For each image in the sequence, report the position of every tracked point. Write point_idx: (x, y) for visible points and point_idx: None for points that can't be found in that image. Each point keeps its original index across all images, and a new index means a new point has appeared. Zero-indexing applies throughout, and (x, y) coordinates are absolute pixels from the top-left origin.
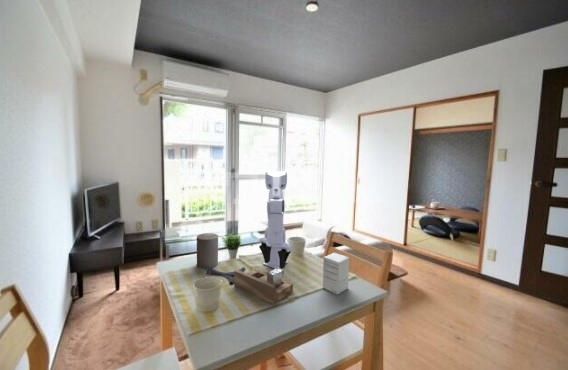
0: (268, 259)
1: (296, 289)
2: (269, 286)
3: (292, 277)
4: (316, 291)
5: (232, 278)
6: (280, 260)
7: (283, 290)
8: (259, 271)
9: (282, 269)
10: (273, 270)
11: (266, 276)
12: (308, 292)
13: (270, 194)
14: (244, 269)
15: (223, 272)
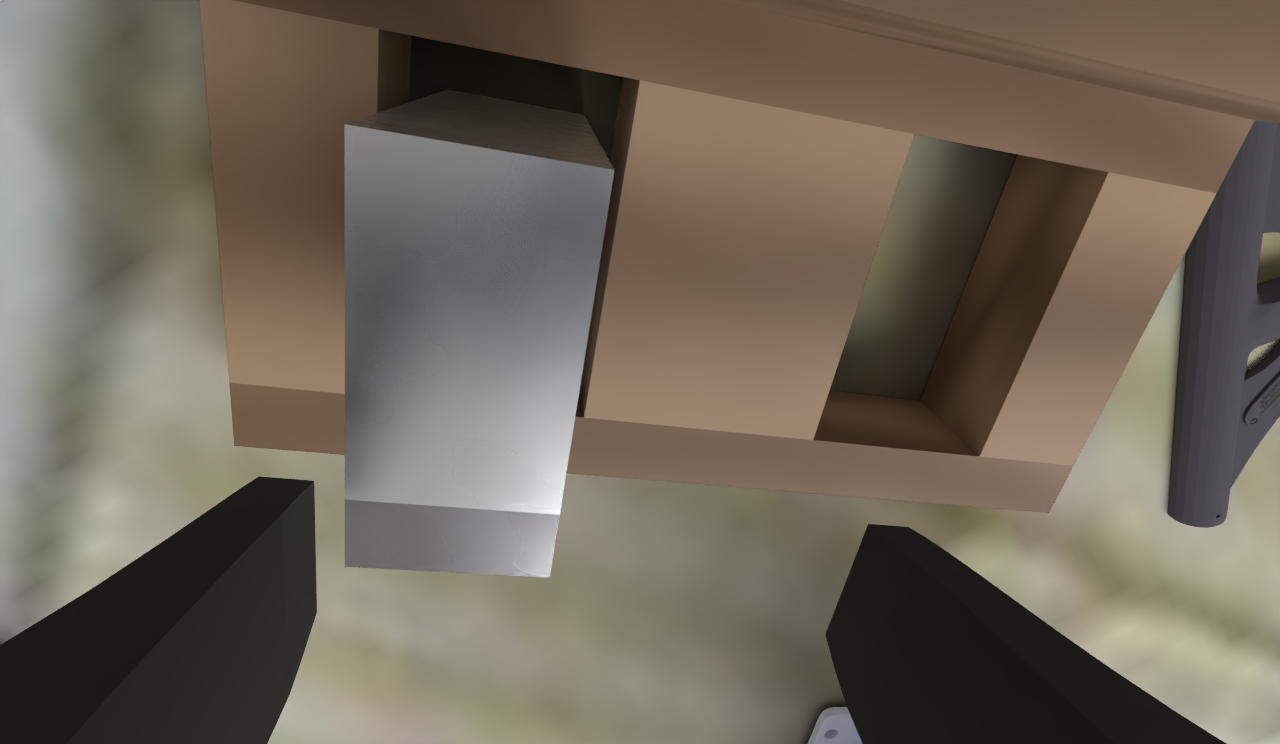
0: (875, 669)
1: (282, 453)
2: None
3: (529, 659)
4: (22, 550)
5: (1268, 214)
6: (14, 699)
7: (219, 161)
8: (956, 487)
9: (383, 558)
10: (541, 394)
11: (776, 414)
12: (86, 474)
13: None
14: (1180, 500)
15: None
